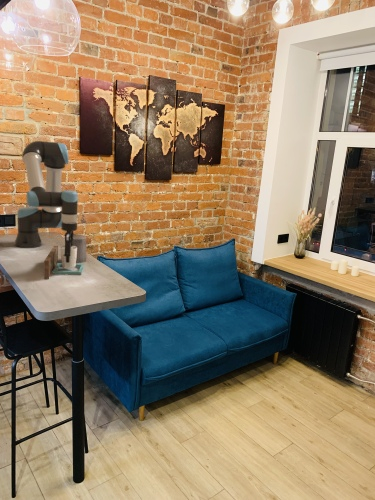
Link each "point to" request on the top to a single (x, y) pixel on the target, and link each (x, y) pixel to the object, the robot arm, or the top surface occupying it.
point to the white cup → (73, 254)
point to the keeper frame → (68, 271)
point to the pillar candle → (80, 247)
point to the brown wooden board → (50, 262)
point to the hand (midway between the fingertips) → (68, 265)
